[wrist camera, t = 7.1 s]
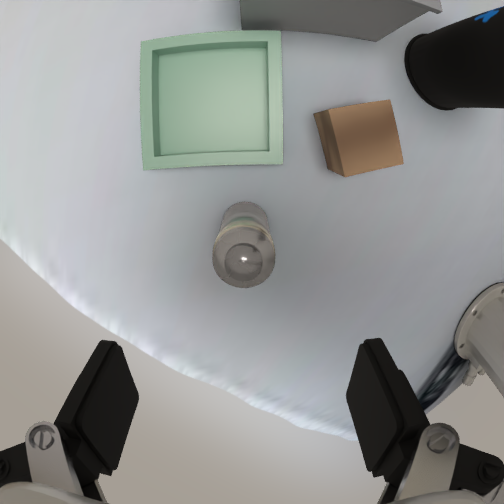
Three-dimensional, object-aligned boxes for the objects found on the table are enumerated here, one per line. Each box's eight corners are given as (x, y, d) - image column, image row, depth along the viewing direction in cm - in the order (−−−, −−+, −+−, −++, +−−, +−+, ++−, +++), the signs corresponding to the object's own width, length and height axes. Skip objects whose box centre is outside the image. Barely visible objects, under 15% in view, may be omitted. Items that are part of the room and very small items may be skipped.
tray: (279, 161, 25) (282, 164, 22) (152, 166, 25) (143, 170, 22) (277, 40, 20) (280, 30, 18) (150, 48, 20) (140, 41, 18)
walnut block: (378, 157, 24) (403, 163, 20) (327, 168, 25) (344, 177, 20) (365, 104, 23) (390, 99, 18) (313, 113, 23) (328, 109, 18)
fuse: (268, 245, 27) (276, 292, 20) (222, 245, 27) (212, 293, 19) (268, 200, 26) (277, 232, 18) (220, 201, 26) (208, 233, 18)
